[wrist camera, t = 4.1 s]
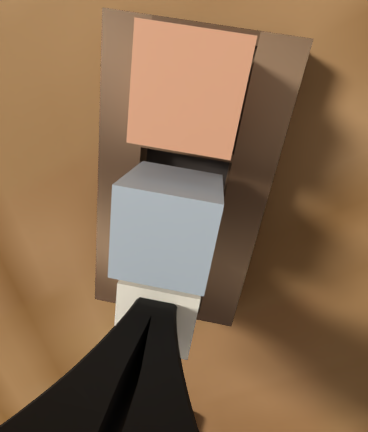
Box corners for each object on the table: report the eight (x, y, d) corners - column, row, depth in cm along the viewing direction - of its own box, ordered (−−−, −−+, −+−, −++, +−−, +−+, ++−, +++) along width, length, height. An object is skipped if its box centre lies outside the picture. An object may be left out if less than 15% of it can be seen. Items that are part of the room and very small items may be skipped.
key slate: (207, 245, 11) (203, 296, 8) (136, 232, 11) (107, 277, 8) (222, 174, 9) (224, 204, 7) (142, 160, 10) (111, 184, 7)
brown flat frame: (230, 308, 14) (231, 326, 13) (104, 283, 14) (94, 299, 13) (302, 46, 9) (313, 38, 8) (115, 18, 10) (102, 7, 9)
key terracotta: (227, 144, 10) (230, 160, 7) (151, 131, 10) (126, 142, 7) (245, 56, 9) (257, 35, 6) (160, 43, 9) (134, 17, 6)
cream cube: (194, 304, 13) (187, 359, 10) (135, 293, 13) (113, 344, 10) (204, 253, 12) (200, 299, 9) (140, 241, 12) (117, 283, 9)
